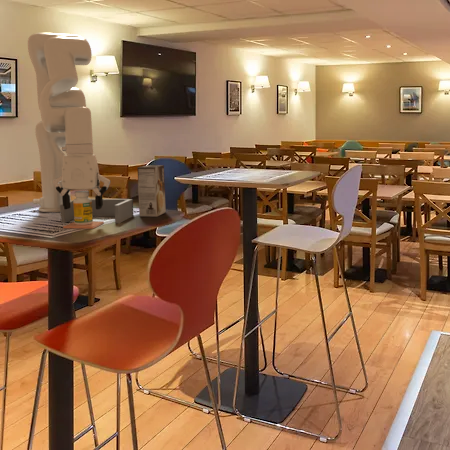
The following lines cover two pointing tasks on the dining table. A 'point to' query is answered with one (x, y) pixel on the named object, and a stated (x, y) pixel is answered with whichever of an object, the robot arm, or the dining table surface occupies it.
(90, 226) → the tile
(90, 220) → the supplement bottle
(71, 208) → the open box
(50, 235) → the dining table surface
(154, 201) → the coffee box
